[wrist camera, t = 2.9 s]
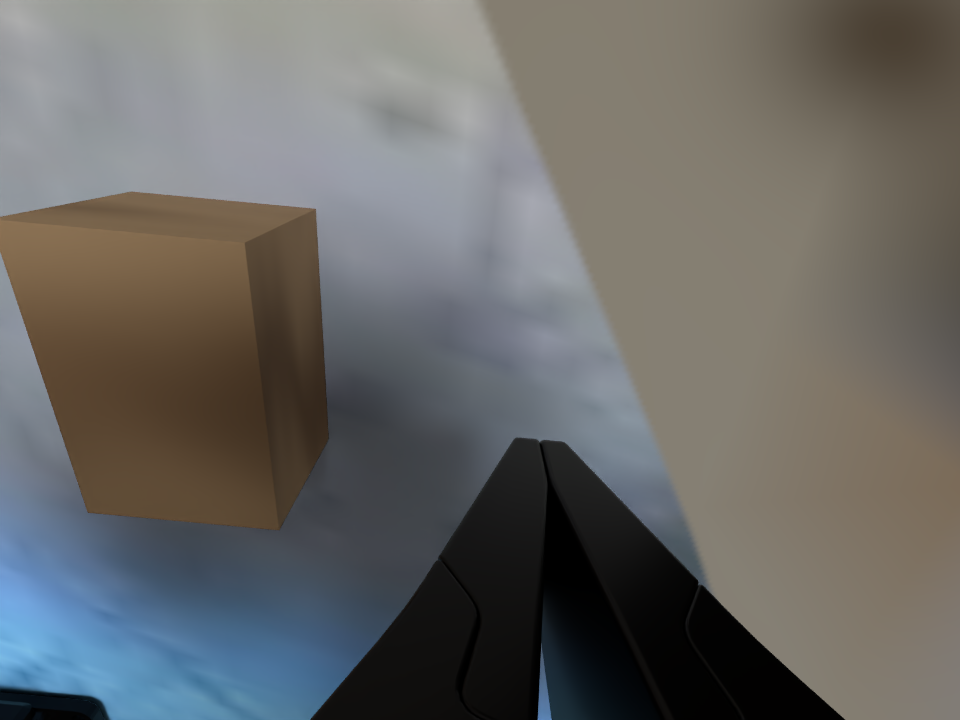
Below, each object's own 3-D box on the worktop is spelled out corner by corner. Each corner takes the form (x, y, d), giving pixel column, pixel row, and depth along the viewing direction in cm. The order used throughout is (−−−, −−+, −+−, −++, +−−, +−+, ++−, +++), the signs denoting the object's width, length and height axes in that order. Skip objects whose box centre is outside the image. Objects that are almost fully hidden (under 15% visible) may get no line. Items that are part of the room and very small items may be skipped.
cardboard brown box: (330, 434, 14) (279, 530, 10) (183, 421, 14) (88, 512, 10) (318, 207, 11) (244, 242, 8) (136, 190, 11) (-12, 218, 8)
